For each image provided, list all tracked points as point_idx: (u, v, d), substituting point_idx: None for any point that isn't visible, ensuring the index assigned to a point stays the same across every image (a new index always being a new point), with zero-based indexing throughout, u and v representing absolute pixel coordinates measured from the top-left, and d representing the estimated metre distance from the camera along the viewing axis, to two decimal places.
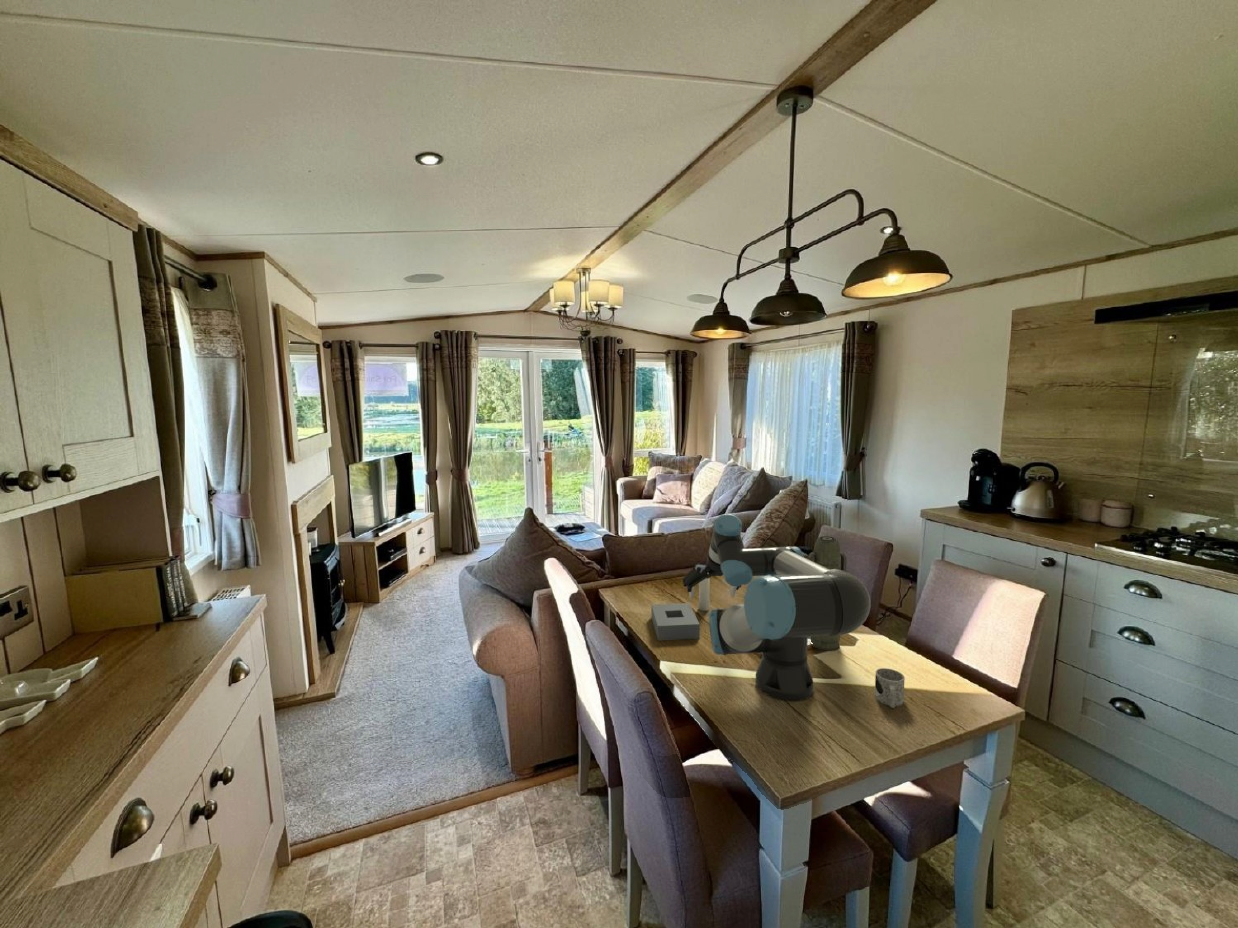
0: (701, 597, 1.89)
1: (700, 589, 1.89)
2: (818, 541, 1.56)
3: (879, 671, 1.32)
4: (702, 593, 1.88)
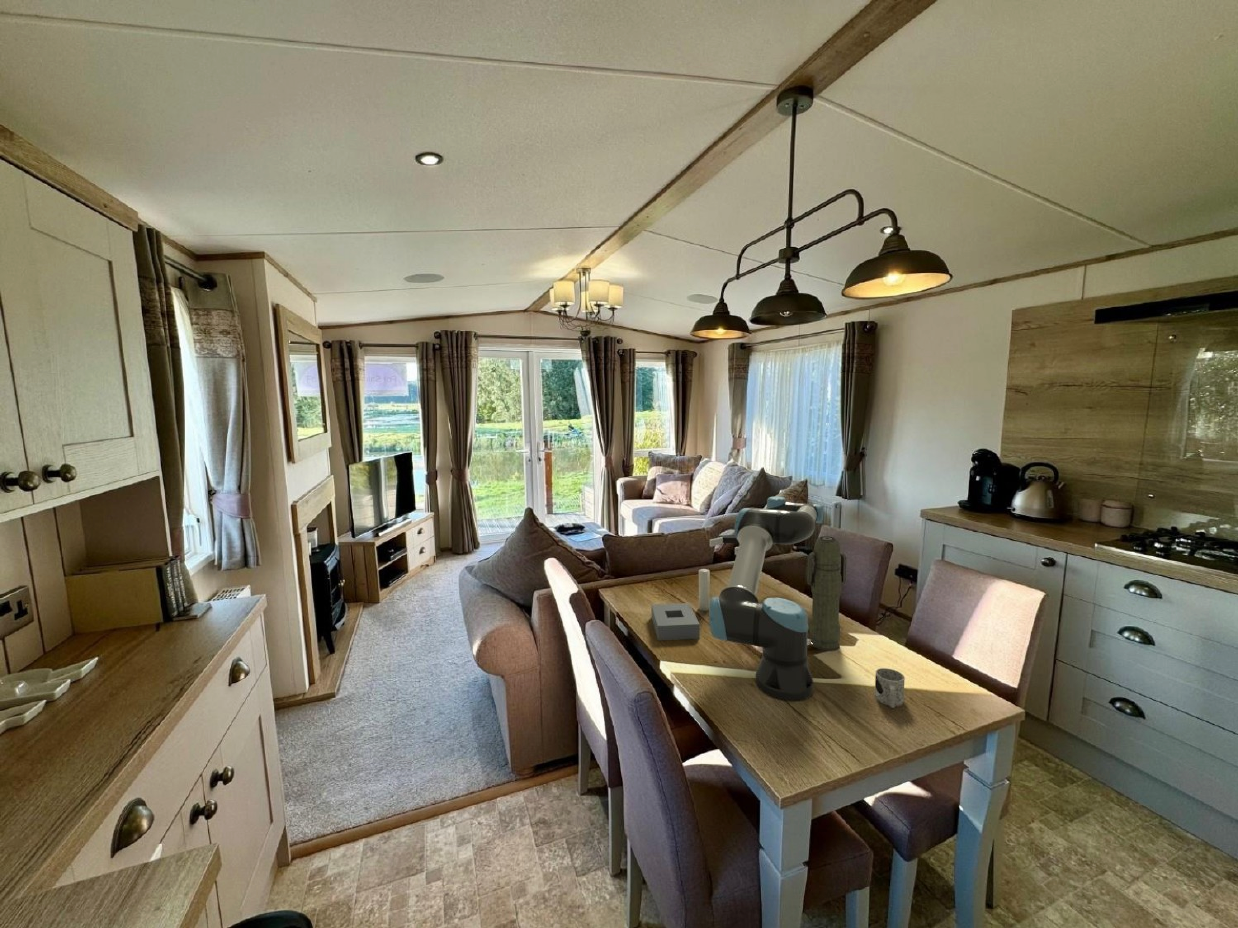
0: (701, 597, 1.89)
1: (700, 589, 1.89)
2: (818, 541, 1.56)
3: (879, 671, 1.32)
4: (702, 593, 1.88)
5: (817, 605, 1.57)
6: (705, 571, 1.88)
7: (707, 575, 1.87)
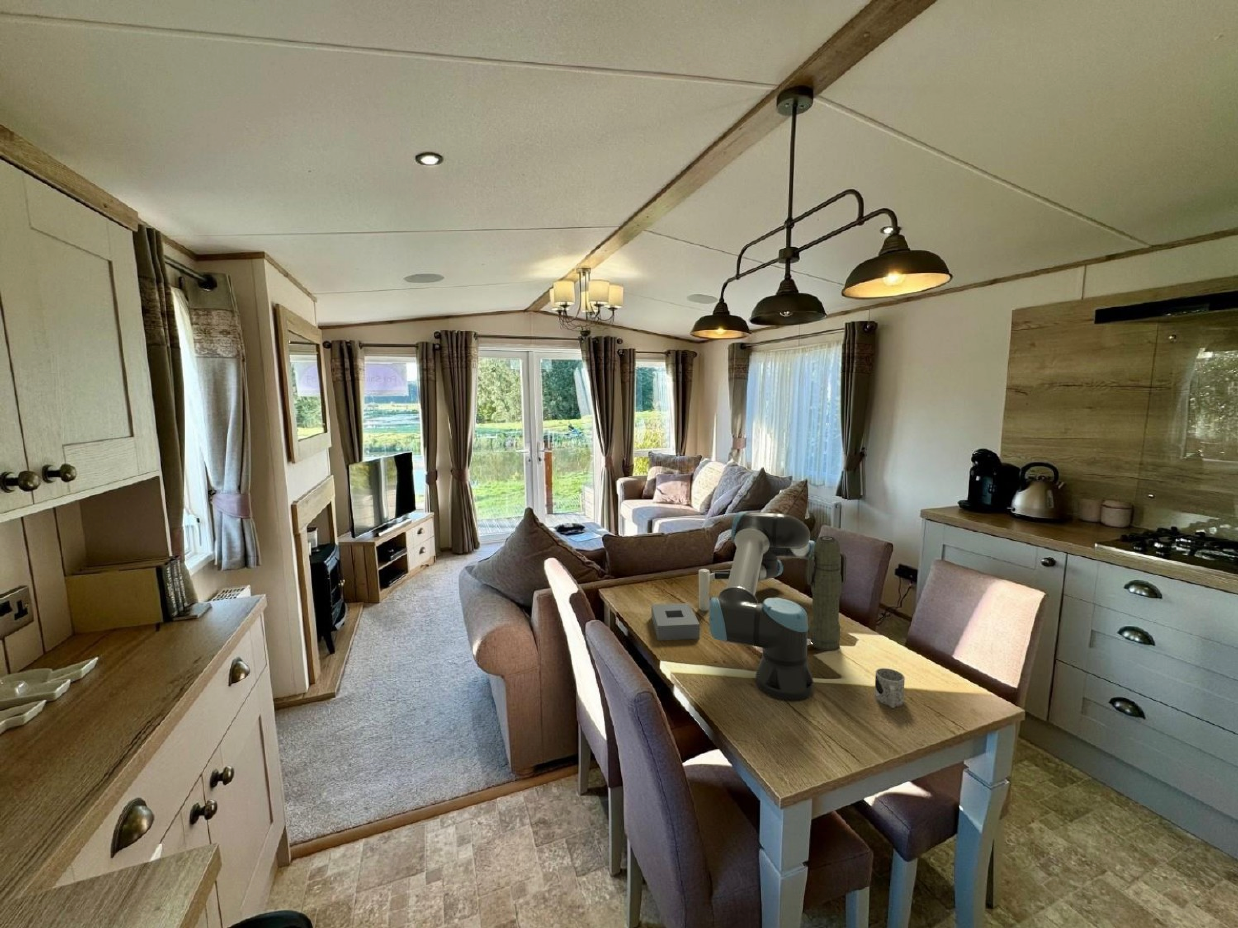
0: (701, 597, 1.89)
1: (700, 589, 1.89)
2: (818, 541, 1.56)
3: (879, 671, 1.32)
4: (702, 593, 1.88)
5: (817, 605, 1.57)
6: (705, 571, 1.88)
7: (707, 575, 1.87)
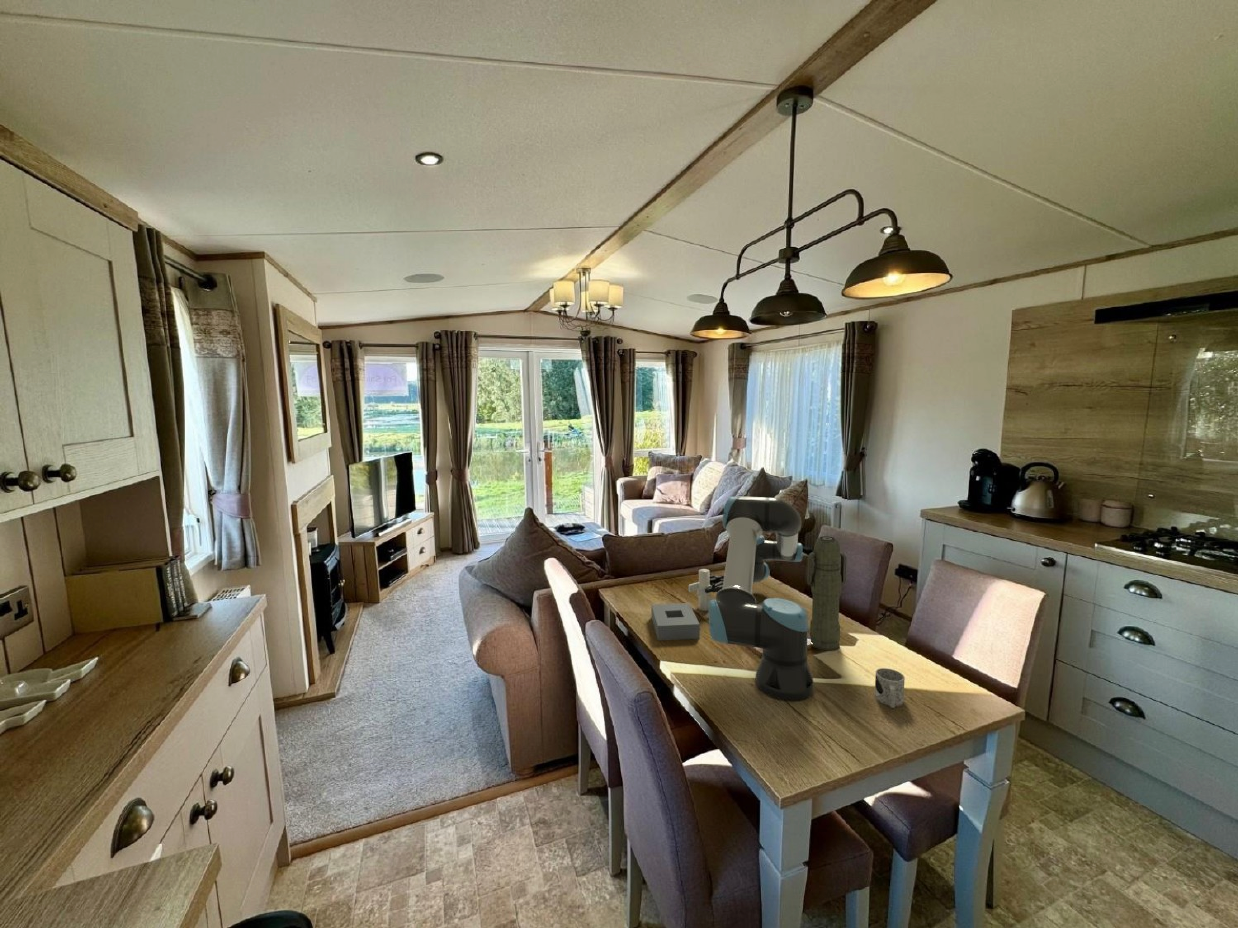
0: (701, 597, 1.89)
1: None
2: (818, 541, 1.56)
3: (879, 671, 1.32)
4: None
5: (817, 605, 1.57)
6: (705, 571, 1.88)
7: (707, 575, 1.87)
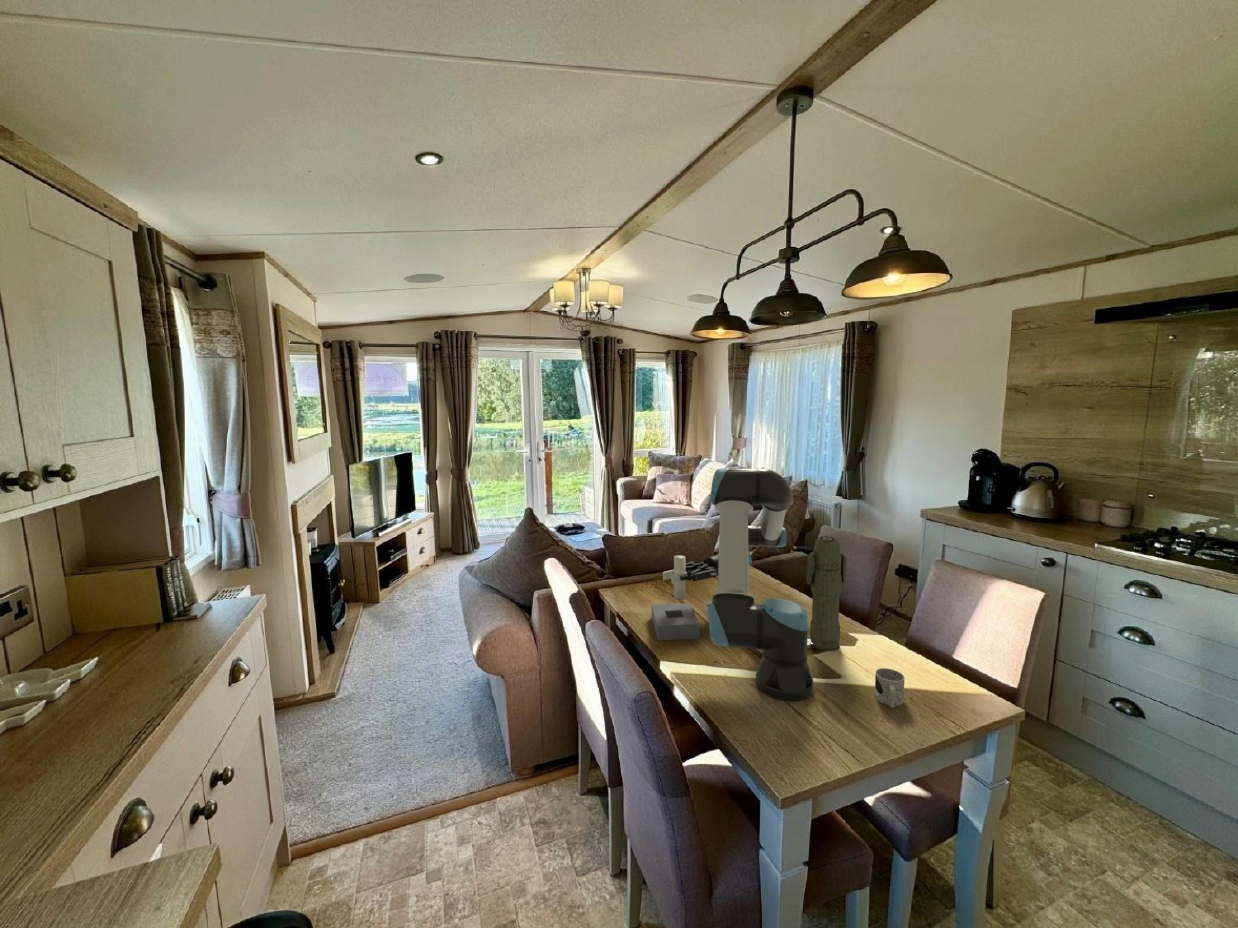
0: (676, 586, 1.76)
1: None
2: (818, 541, 1.56)
3: (879, 671, 1.32)
4: None
5: (817, 605, 1.57)
6: (680, 557, 1.76)
7: (683, 562, 1.75)
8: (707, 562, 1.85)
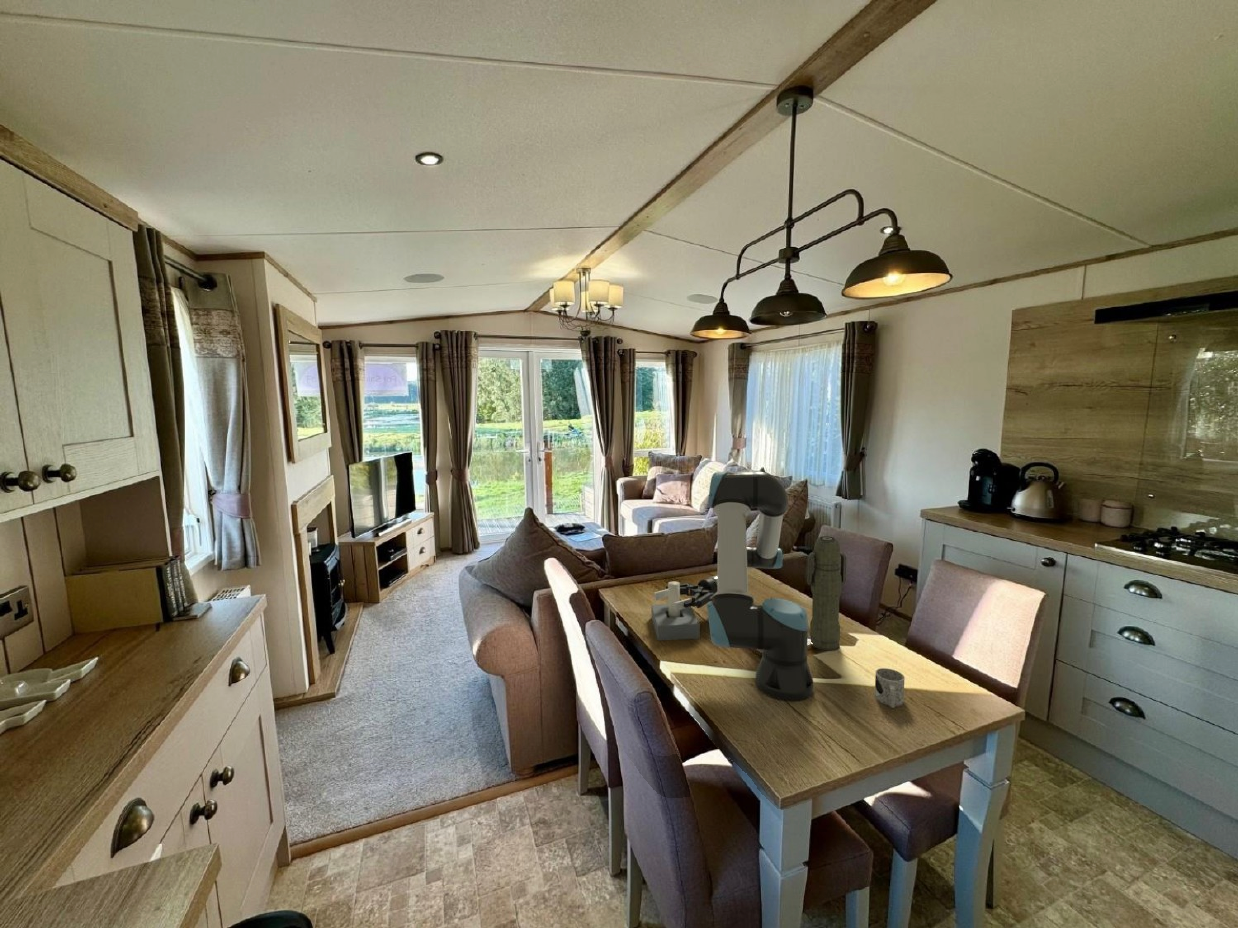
0: (670, 612, 1.73)
1: (669, 603, 1.73)
2: (818, 541, 1.56)
3: (879, 671, 1.32)
4: (672, 608, 1.73)
5: (817, 605, 1.57)
6: (675, 584, 1.73)
7: (677, 588, 1.72)
8: (702, 584, 1.82)
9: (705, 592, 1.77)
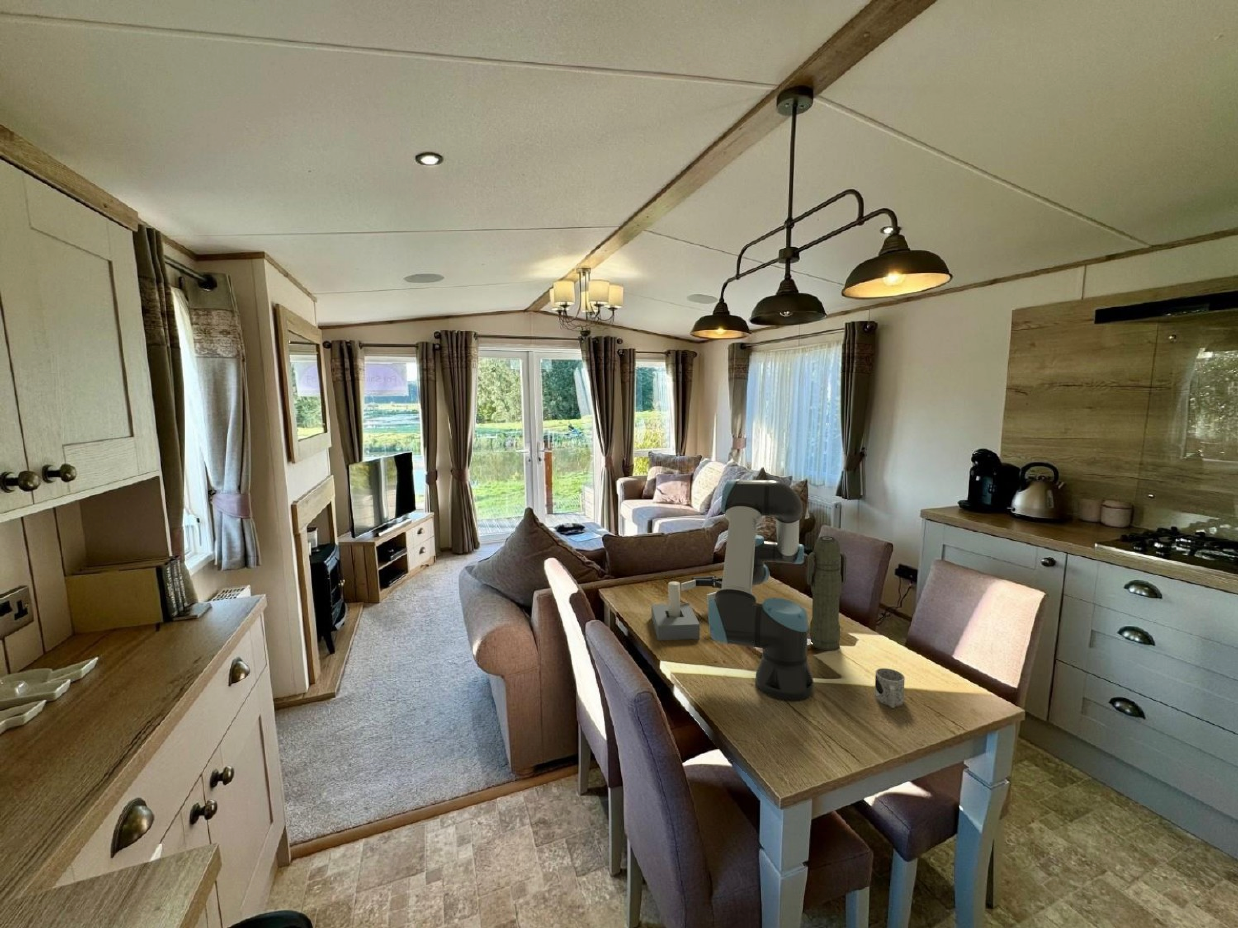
0: (670, 613, 1.73)
1: (669, 603, 1.73)
2: (818, 541, 1.56)
3: (879, 671, 1.32)
4: (672, 608, 1.72)
5: (817, 605, 1.57)
6: (675, 584, 1.72)
7: (677, 588, 1.72)
8: None
9: None
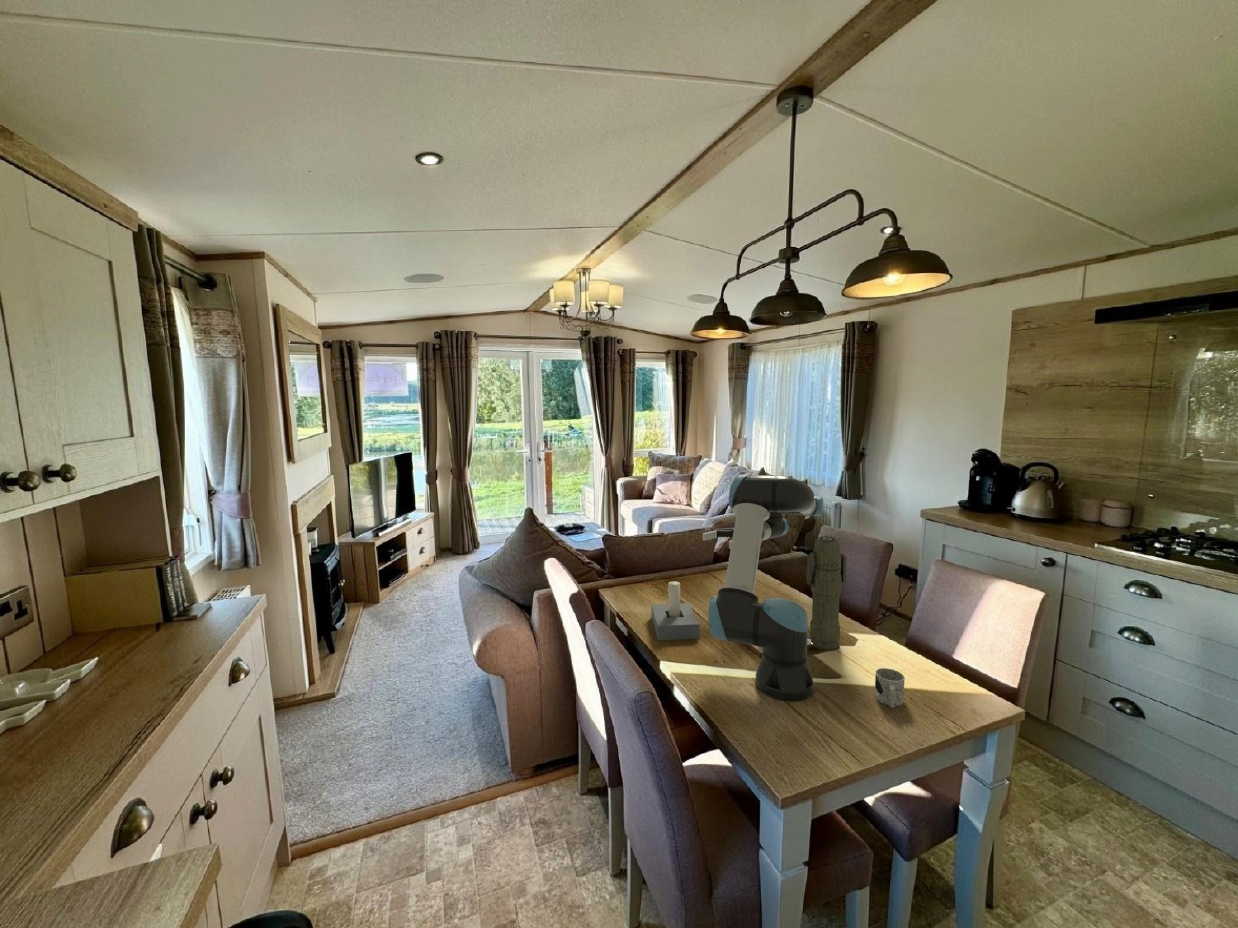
0: (670, 612, 1.73)
1: (669, 603, 1.73)
2: (818, 541, 1.56)
3: (879, 671, 1.32)
4: (672, 608, 1.73)
5: (817, 605, 1.57)
6: (675, 584, 1.73)
7: (677, 588, 1.72)
8: None
9: None
